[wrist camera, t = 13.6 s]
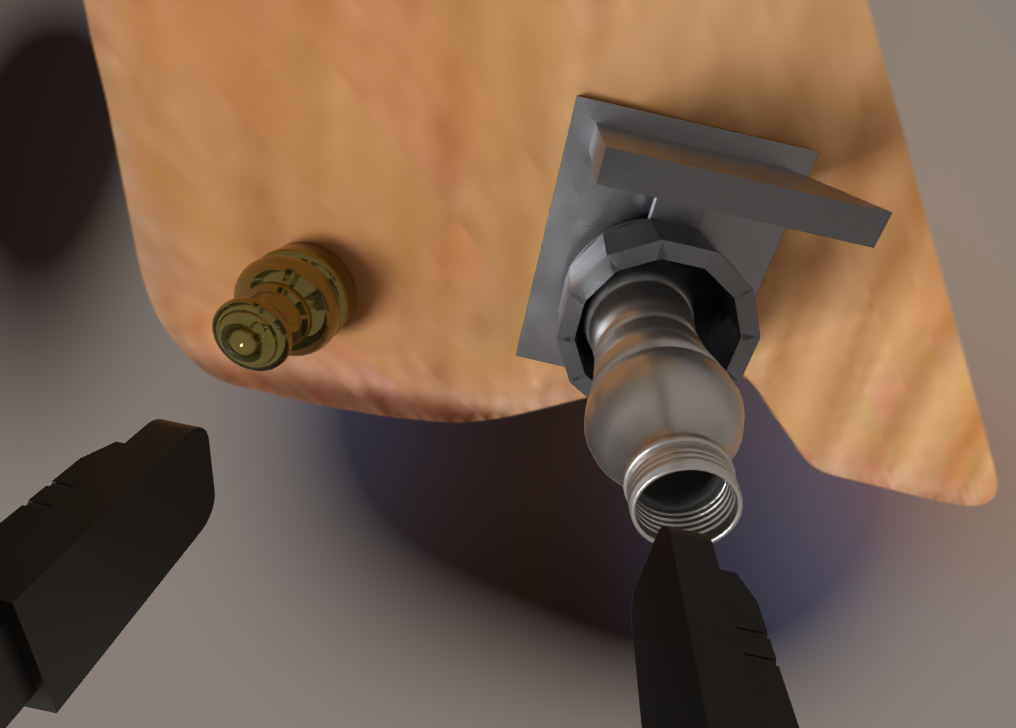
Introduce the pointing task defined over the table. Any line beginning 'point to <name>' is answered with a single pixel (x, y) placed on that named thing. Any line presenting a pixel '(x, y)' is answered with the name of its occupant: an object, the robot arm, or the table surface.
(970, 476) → the table surface
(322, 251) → the brass knob
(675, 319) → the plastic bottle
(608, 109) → the cup bracket
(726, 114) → the table surface
